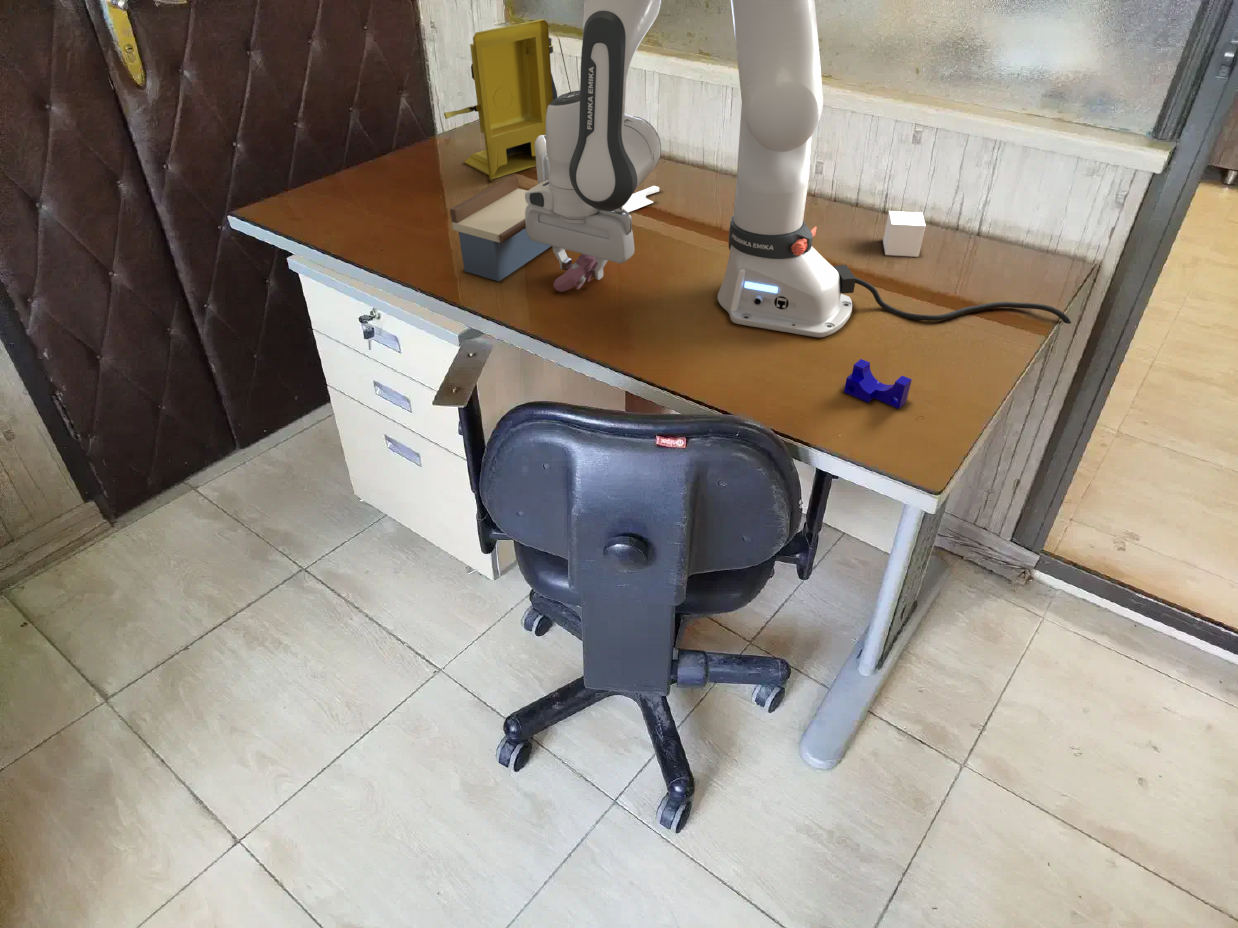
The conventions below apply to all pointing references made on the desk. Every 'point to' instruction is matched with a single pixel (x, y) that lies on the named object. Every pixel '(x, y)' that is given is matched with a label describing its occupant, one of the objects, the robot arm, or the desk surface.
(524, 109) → the yellow upright casing
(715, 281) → the desk surface
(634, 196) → the white plastic blade
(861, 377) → the cable holder
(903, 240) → the white cube
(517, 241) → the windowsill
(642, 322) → the desk surface
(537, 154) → the photo printer
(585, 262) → the video game controller
